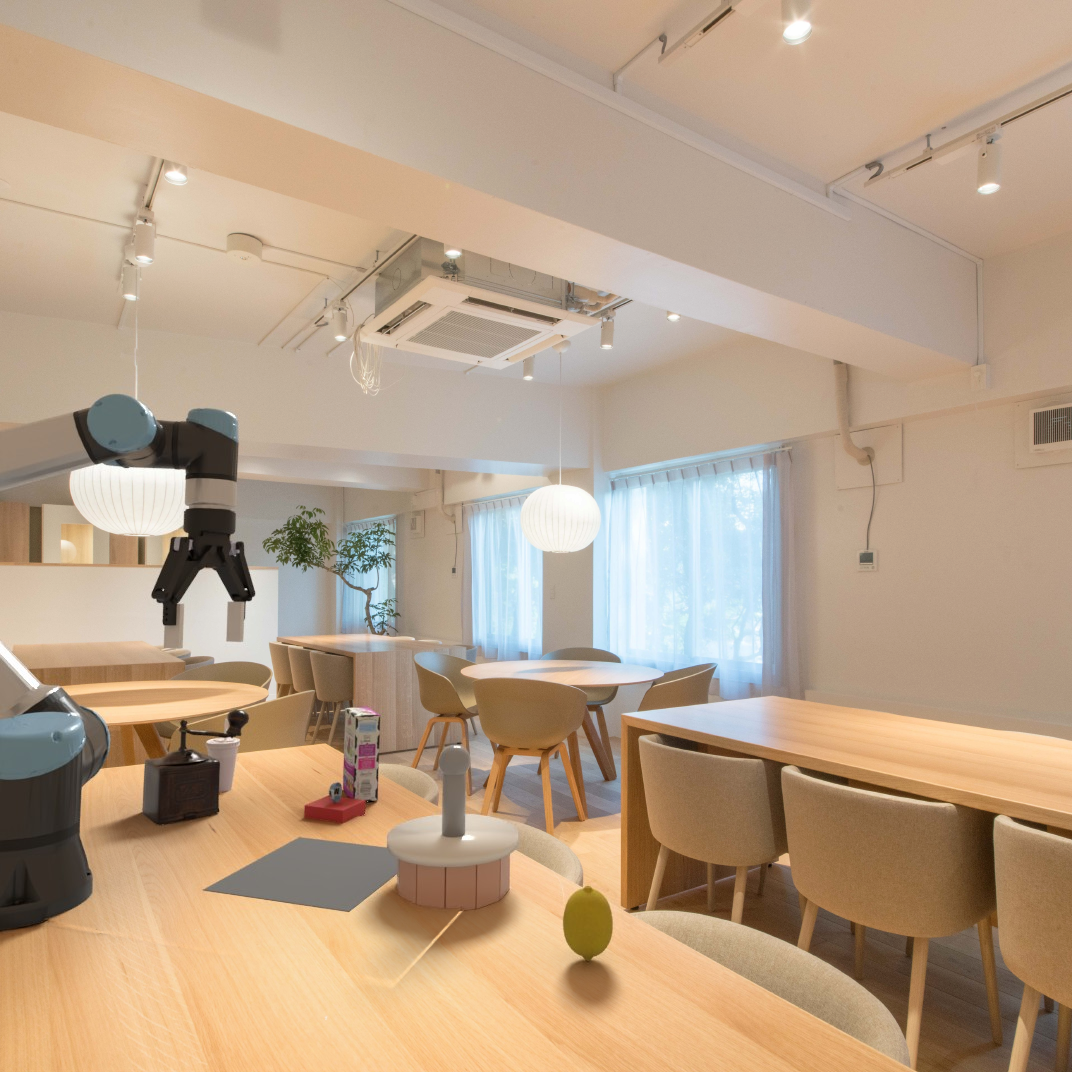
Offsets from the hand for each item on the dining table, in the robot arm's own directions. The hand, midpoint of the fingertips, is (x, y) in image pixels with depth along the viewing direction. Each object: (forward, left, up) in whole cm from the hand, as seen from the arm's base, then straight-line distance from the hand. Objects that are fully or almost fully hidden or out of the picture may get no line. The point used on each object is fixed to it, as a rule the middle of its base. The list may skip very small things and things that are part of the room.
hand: (205, 645), depth 117 cm
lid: (0, -42, -26) cm, 49 cm away
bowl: (0, -42, -32) cm, 53 cm away
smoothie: (+31, +21, -32) cm, 49 cm away
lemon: (-14, -64, -32) cm, 73 cm away
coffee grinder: (+18, +16, -32) cm, 40 cm away
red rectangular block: (+22, -10, -32) cm, 40 cm away
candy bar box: (+36, -7, -32) cm, 49 cm away
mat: (-1, -22, -32) cm, 39 cm away
